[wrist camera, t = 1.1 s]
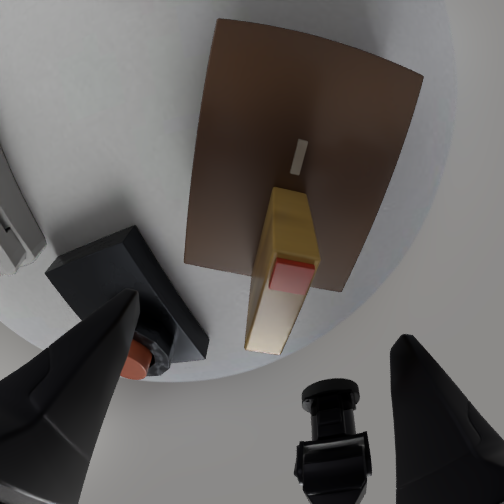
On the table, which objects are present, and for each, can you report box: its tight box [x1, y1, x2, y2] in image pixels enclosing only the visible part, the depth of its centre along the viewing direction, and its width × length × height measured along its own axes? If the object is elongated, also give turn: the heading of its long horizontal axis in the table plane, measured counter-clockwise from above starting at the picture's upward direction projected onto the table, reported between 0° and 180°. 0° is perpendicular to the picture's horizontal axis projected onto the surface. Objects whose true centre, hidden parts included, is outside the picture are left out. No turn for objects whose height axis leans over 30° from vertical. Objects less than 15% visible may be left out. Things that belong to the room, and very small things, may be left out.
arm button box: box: [45, 225, 209, 376], centre depth 22 cm, size 12×9×4 cm
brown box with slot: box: [184, 18, 424, 292], centre depth 14 cm, size 13×8×5 cm, turn 169°
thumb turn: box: [244, 187, 321, 355], centre depth 11 cm, size 5×1×5 cm, turn 169°
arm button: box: [120, 339, 152, 380], centre depth 21 cm, size 4×4×2 cm
